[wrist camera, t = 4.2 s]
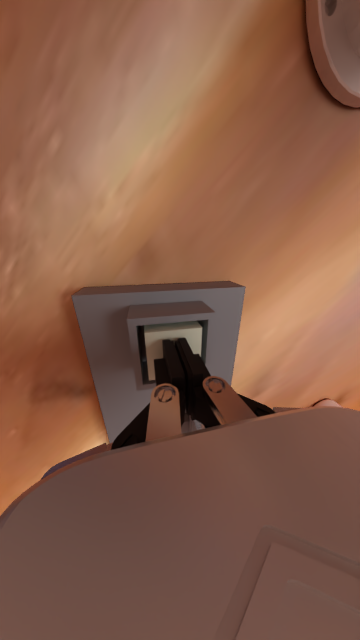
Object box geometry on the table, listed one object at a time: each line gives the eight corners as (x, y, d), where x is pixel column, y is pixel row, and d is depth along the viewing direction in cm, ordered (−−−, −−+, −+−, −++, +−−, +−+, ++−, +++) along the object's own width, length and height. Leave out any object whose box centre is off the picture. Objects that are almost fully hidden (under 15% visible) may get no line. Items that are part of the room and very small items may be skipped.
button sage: (143, 316, 14) (144, 333, 11) (190, 313, 14) (202, 327, 12) (147, 357, 15) (149, 380, 13) (190, 352, 16) (199, 372, 13)
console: (84, 287, 15) (51, 308, 9) (229, 281, 18) (268, 295, 12) (126, 476, 27) (123, 534, 21) (210, 455, 29) (226, 502, 24)
